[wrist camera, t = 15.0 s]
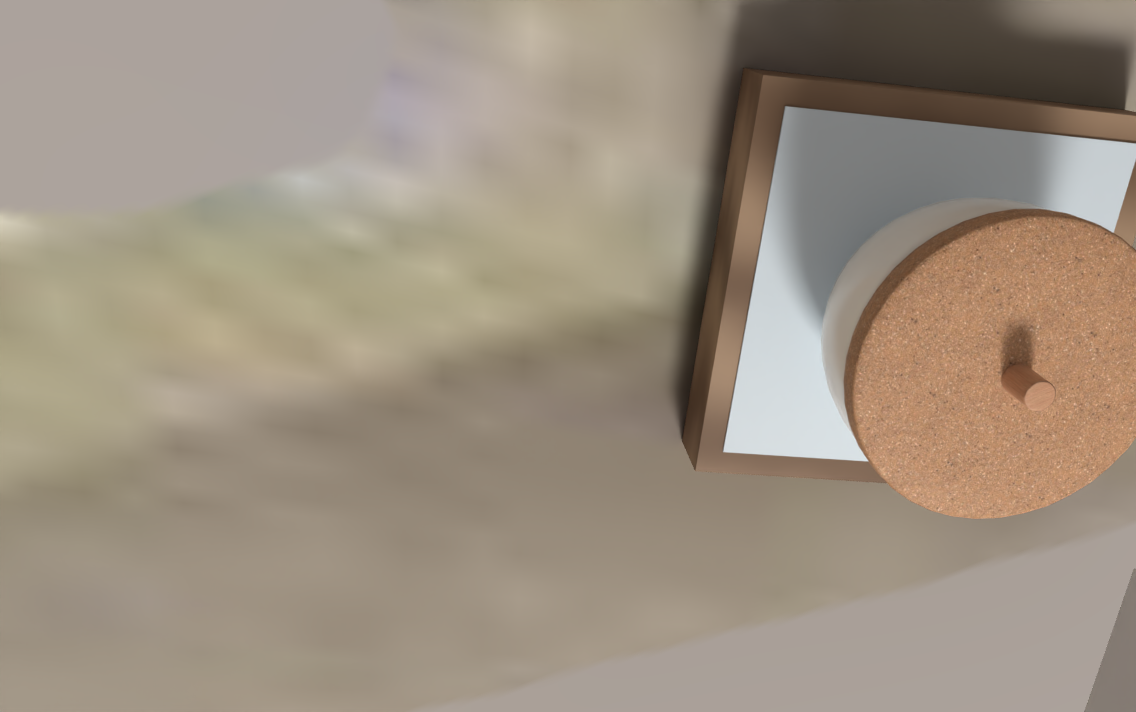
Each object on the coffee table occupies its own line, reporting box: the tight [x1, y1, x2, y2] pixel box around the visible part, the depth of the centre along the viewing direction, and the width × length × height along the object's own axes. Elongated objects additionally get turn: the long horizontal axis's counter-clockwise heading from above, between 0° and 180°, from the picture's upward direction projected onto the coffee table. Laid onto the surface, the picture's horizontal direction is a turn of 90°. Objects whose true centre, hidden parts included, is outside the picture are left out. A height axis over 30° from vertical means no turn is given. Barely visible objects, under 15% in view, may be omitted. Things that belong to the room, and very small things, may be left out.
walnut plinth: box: [682, 68, 1136, 483], centre depth 42 cm, size 16×16×3 cm
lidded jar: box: [821, 198, 1136, 519], centre depth 36 cm, size 11×11×9 cm
